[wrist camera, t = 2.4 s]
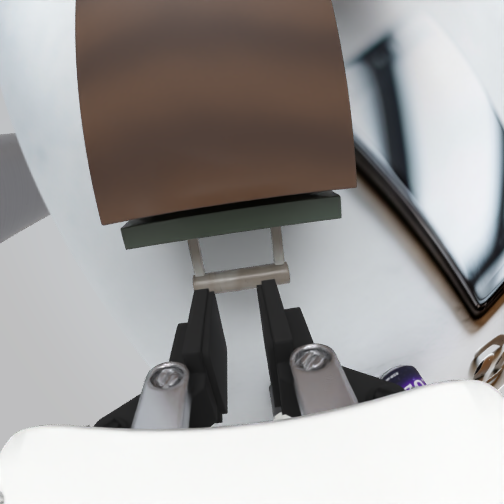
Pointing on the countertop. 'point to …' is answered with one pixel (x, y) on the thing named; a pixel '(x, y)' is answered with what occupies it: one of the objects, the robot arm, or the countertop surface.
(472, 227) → the countertop surface
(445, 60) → the countertop surface
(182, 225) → the drawer
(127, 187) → the cabinet
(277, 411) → the white and black cylinder
